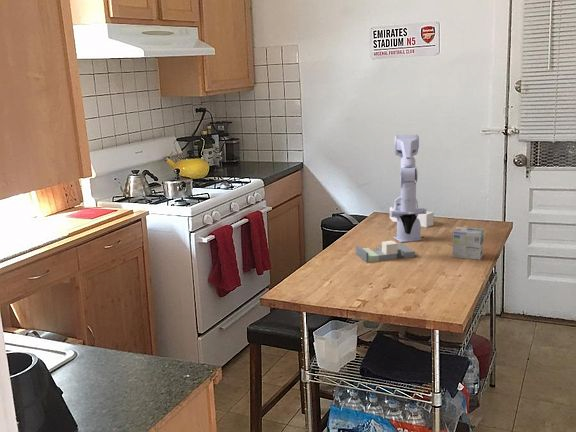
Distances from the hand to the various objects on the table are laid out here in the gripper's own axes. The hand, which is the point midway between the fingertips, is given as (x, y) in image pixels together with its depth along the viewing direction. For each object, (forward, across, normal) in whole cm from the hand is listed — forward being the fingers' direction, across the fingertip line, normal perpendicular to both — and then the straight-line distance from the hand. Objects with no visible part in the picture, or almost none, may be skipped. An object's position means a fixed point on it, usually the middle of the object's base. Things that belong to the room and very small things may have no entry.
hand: (407, 233), depth 256 cm
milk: (+6, +28, +36) cm, 46 cm away
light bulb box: (+9, +21, -9) cm, 25 cm away
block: (+7, -8, -1) cm, 10 cm away
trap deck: (+9, -8, +3) cm, 12 cm away
